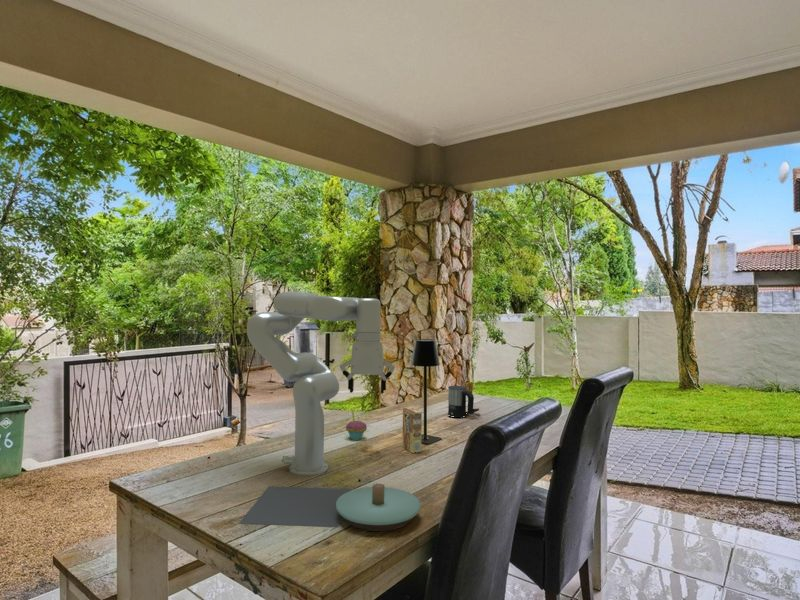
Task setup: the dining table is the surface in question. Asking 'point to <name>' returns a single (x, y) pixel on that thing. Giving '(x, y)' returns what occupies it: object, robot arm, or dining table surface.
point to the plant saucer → (378, 526)
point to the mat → (296, 507)
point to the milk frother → (460, 401)
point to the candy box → (412, 429)
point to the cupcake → (356, 429)
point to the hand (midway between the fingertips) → (366, 392)
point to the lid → (378, 505)
